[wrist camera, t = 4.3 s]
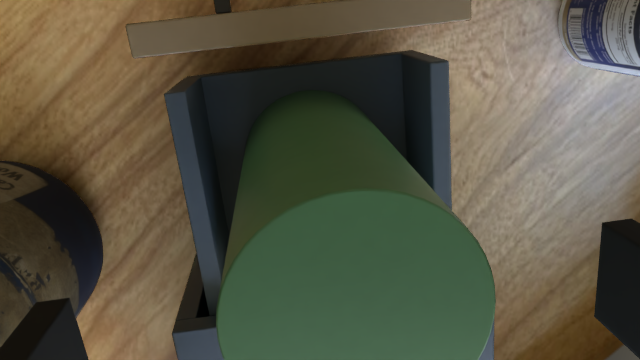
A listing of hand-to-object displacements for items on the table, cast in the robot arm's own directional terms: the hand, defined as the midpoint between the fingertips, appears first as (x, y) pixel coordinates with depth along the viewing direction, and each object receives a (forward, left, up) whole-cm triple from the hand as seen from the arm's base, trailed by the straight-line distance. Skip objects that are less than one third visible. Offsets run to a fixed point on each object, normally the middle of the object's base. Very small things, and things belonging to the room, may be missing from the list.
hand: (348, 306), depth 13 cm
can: (0, 0, -13) cm, 13 cm away
